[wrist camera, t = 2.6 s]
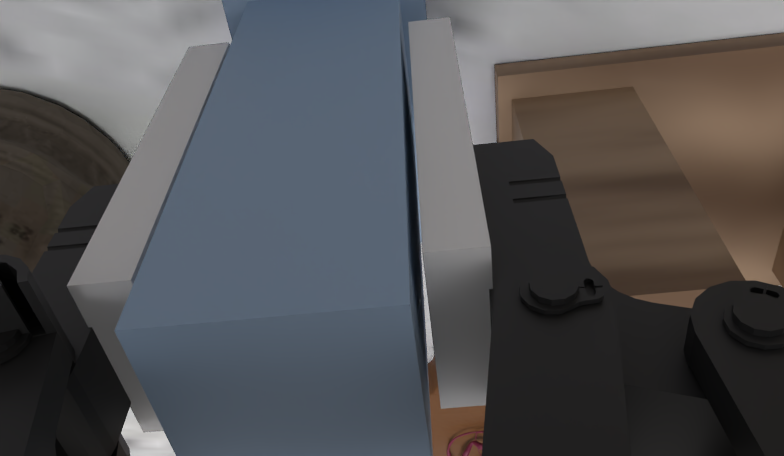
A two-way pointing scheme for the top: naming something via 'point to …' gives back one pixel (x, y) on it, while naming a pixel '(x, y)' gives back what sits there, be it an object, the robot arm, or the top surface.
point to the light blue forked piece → (293, 246)
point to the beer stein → (46, 170)
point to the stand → (663, 158)
